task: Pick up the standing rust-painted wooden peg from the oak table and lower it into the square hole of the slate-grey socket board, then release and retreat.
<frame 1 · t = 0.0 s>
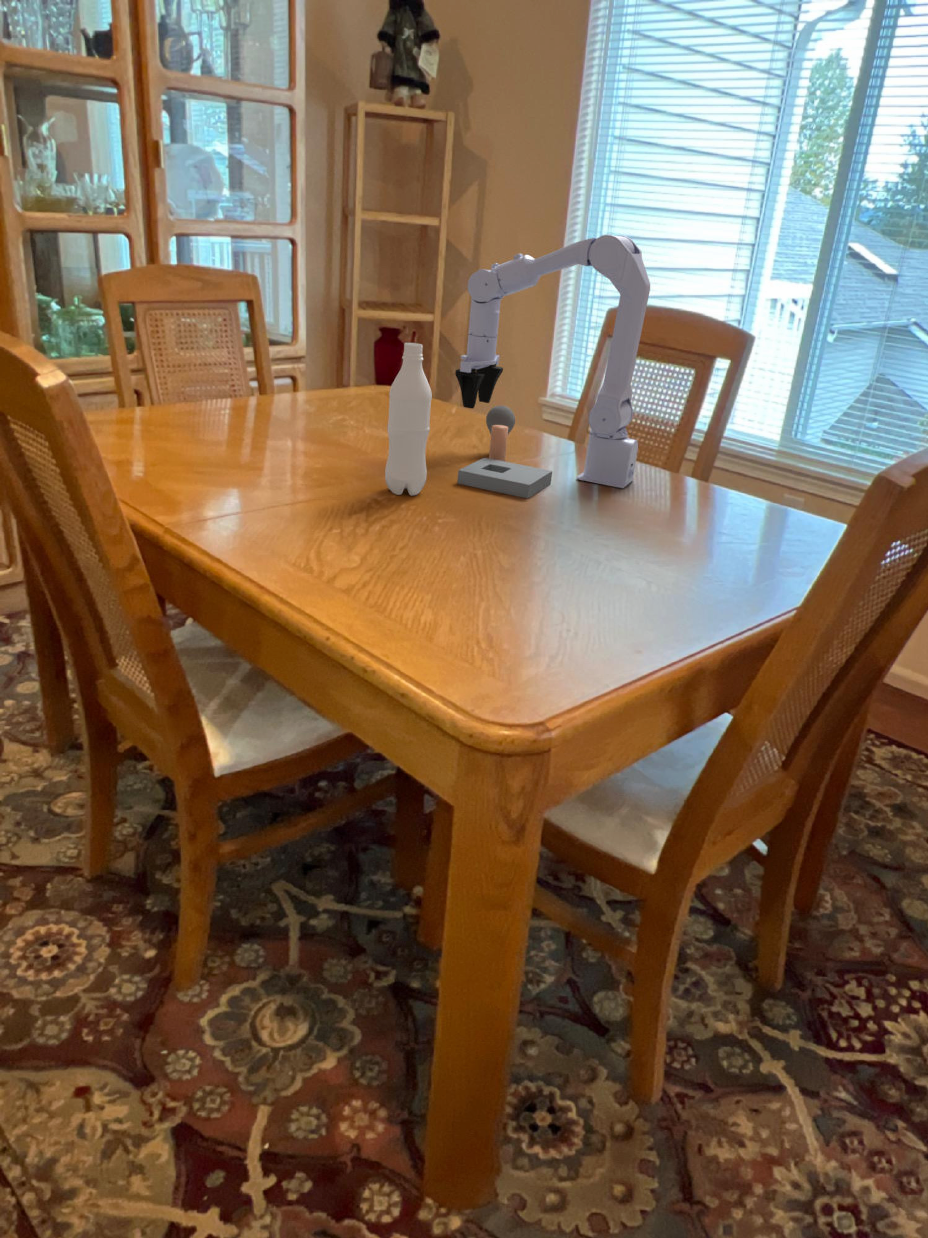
hand: (476, 404, 180), 10 cm above the table, fingers open, 7 cm apart
water bottle: (404, 492, 156), on the table
socket board: (504, 483, 166), on the table
peg: (496, 466, 176), on the table
light bulb: (497, 454, 186), on the table
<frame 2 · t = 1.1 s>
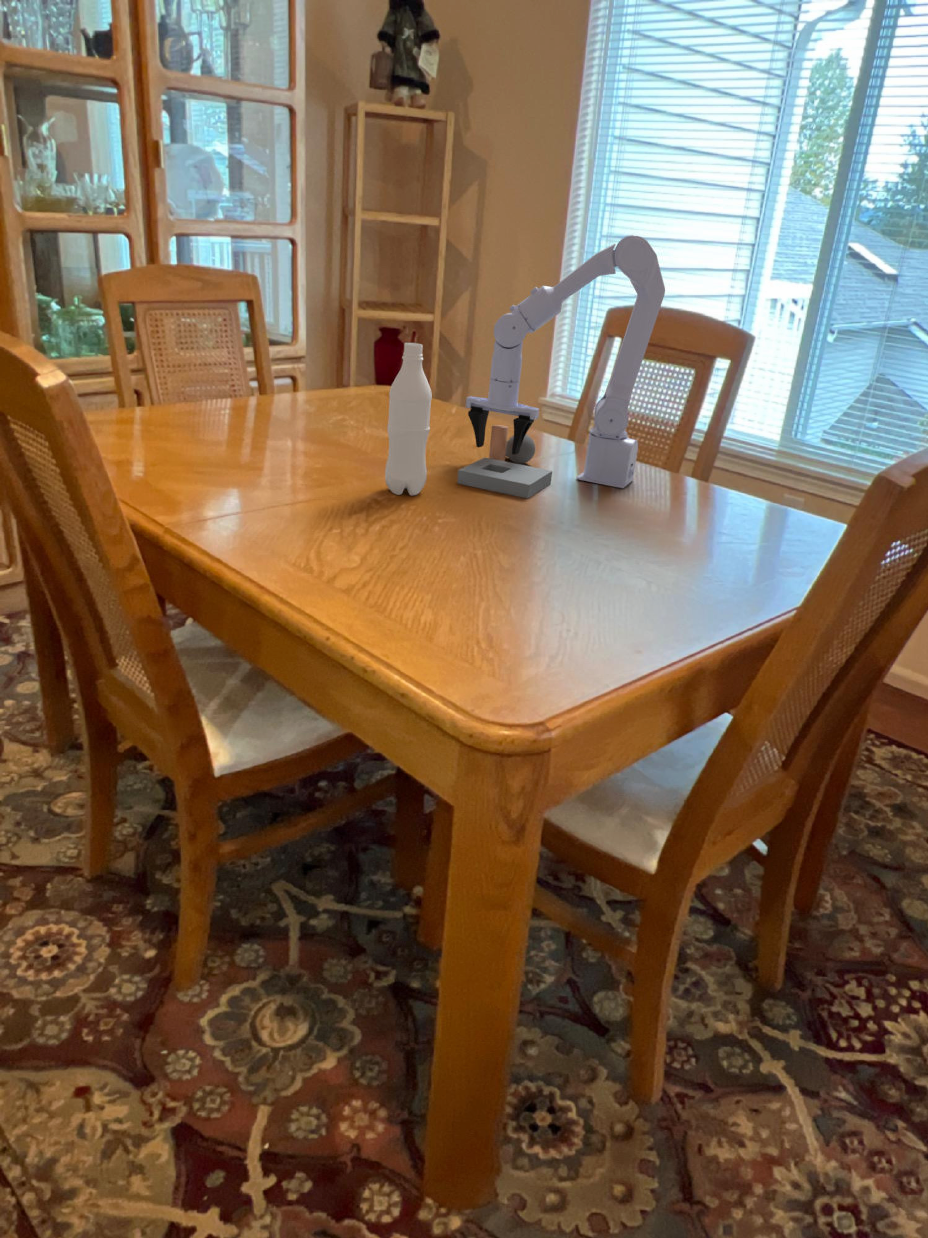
hand: (497, 449, 175), 3 cm above the table, fingers open, 7 cm apart
light bulb: (499, 448, 185), point 1 cm above the table
everything else where it was.
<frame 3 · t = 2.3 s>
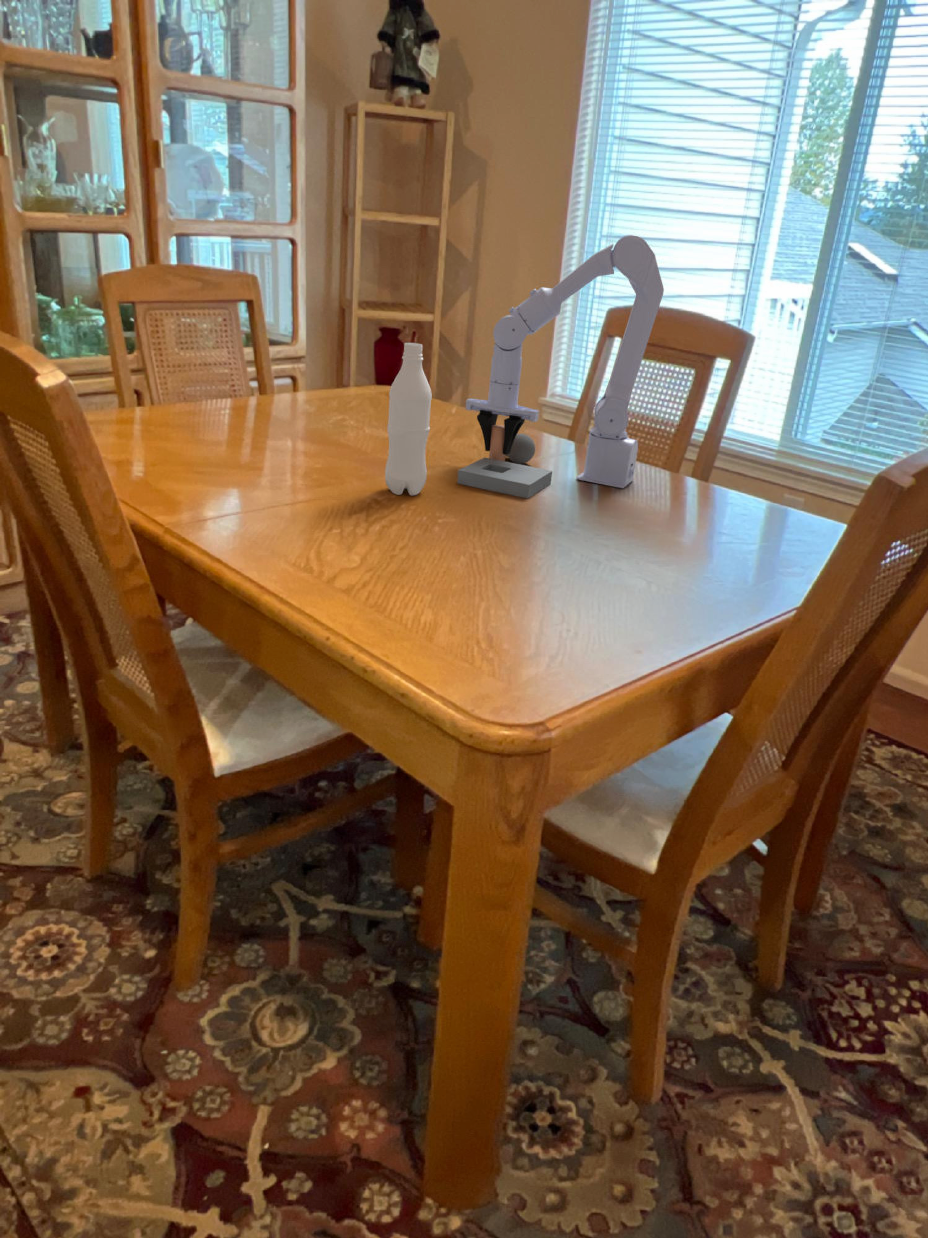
hand: (497, 451, 175), 3 cm above the table, fingers closed on peg, 3 cm apart
peg: (496, 466, 176), on the table, touching gripper
everything else where it was.
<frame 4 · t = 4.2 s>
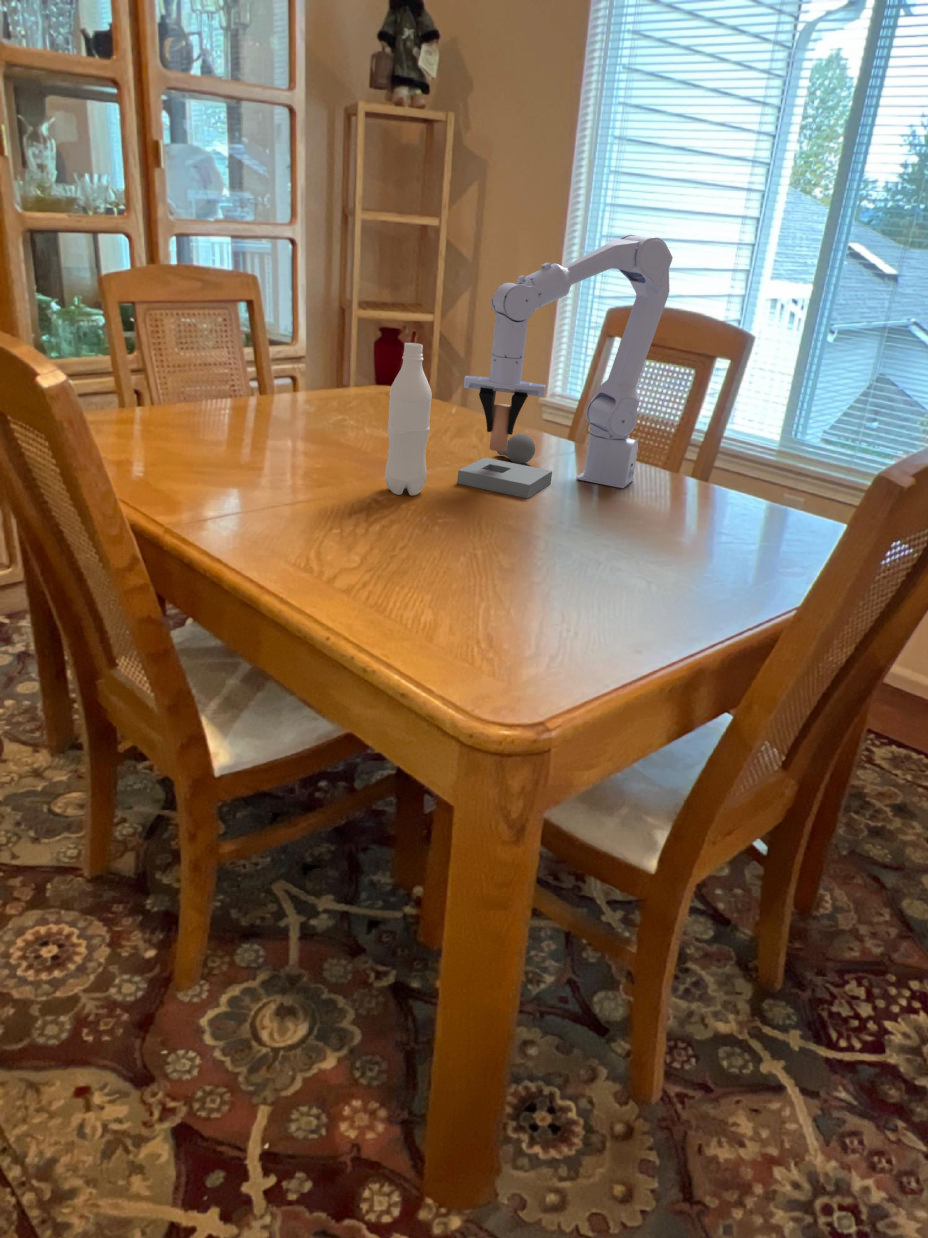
hand: (499, 432, 163), 9 cm above the table, fingers closed on peg, 3 cm apart
peg: (498, 449, 164), point 6 cm above the table, touching gripper
everything else where it was.
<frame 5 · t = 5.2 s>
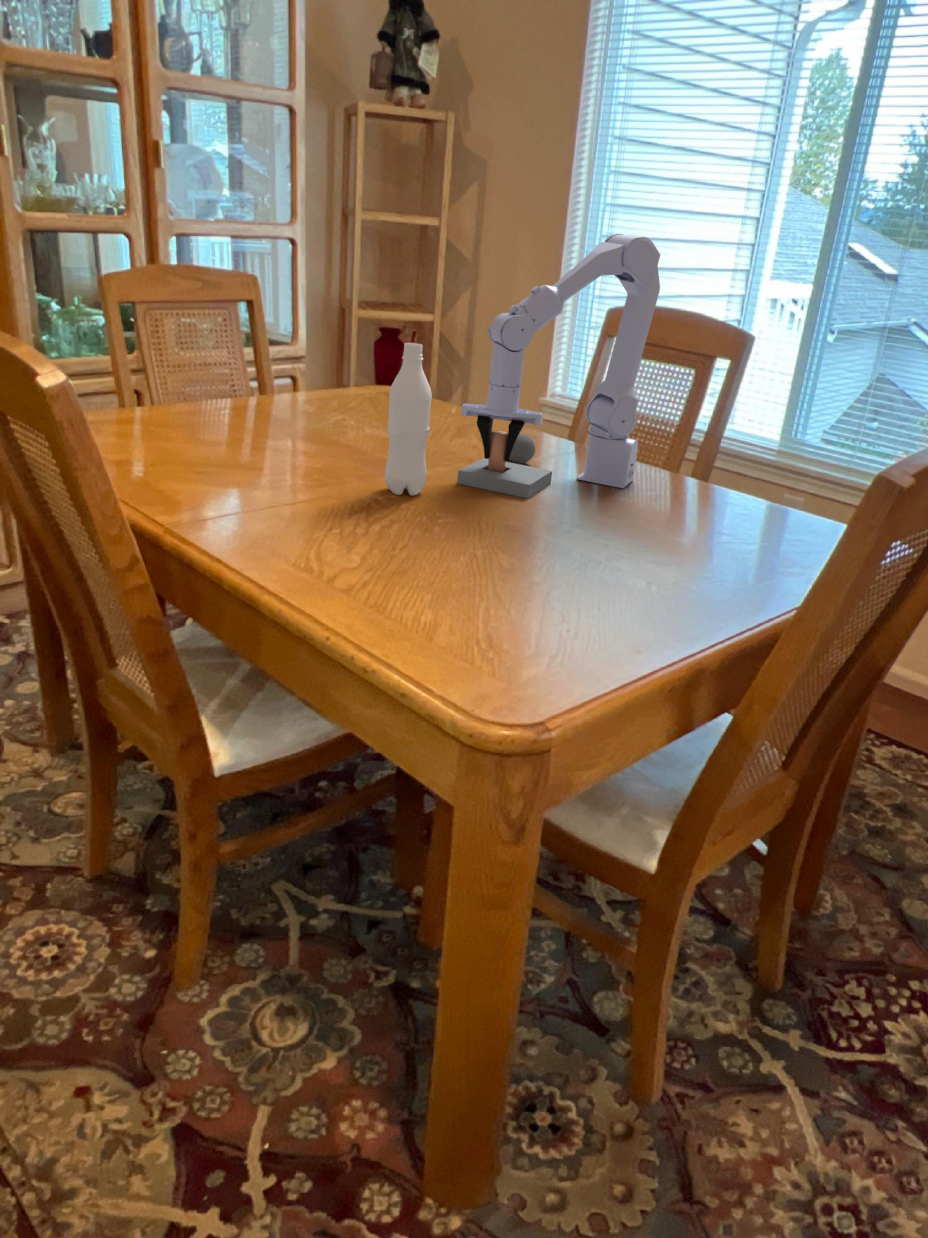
hand: (497, 458, 165), 4 cm above the table, fingers closed on peg, 3 cm apart
peg: (495, 475, 166), point 1 cm above the table, touching gripper
everything else where it was.
when the fingers open (4 cm above the table, at t = 6.0 s): peg drops 1 cm, resting in socket board.
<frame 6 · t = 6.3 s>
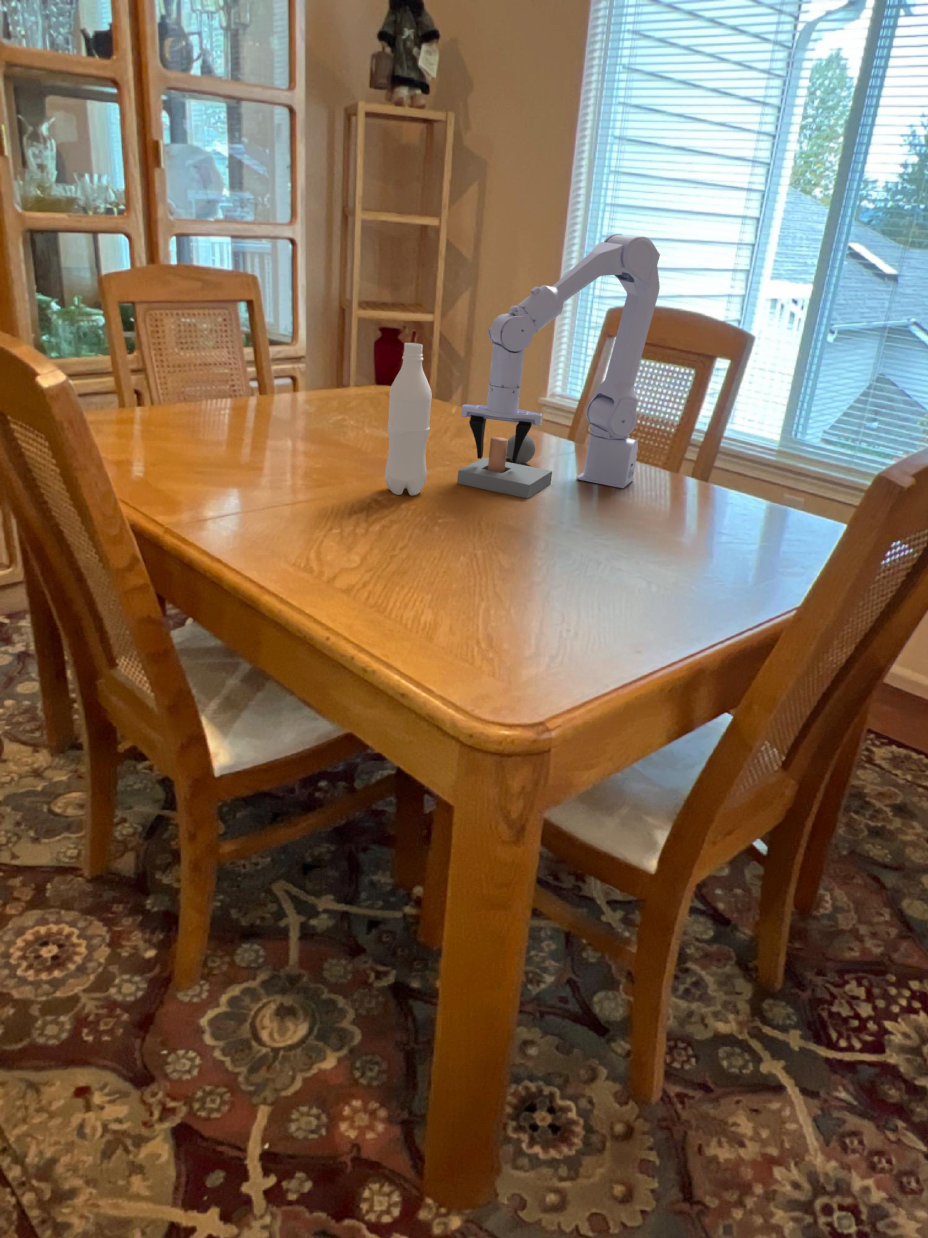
hand: (497, 459, 165), 4 cm above the table, fingers open, 6 cm apart
peg: (495, 481, 166), resting in socket board
everything else where it was.
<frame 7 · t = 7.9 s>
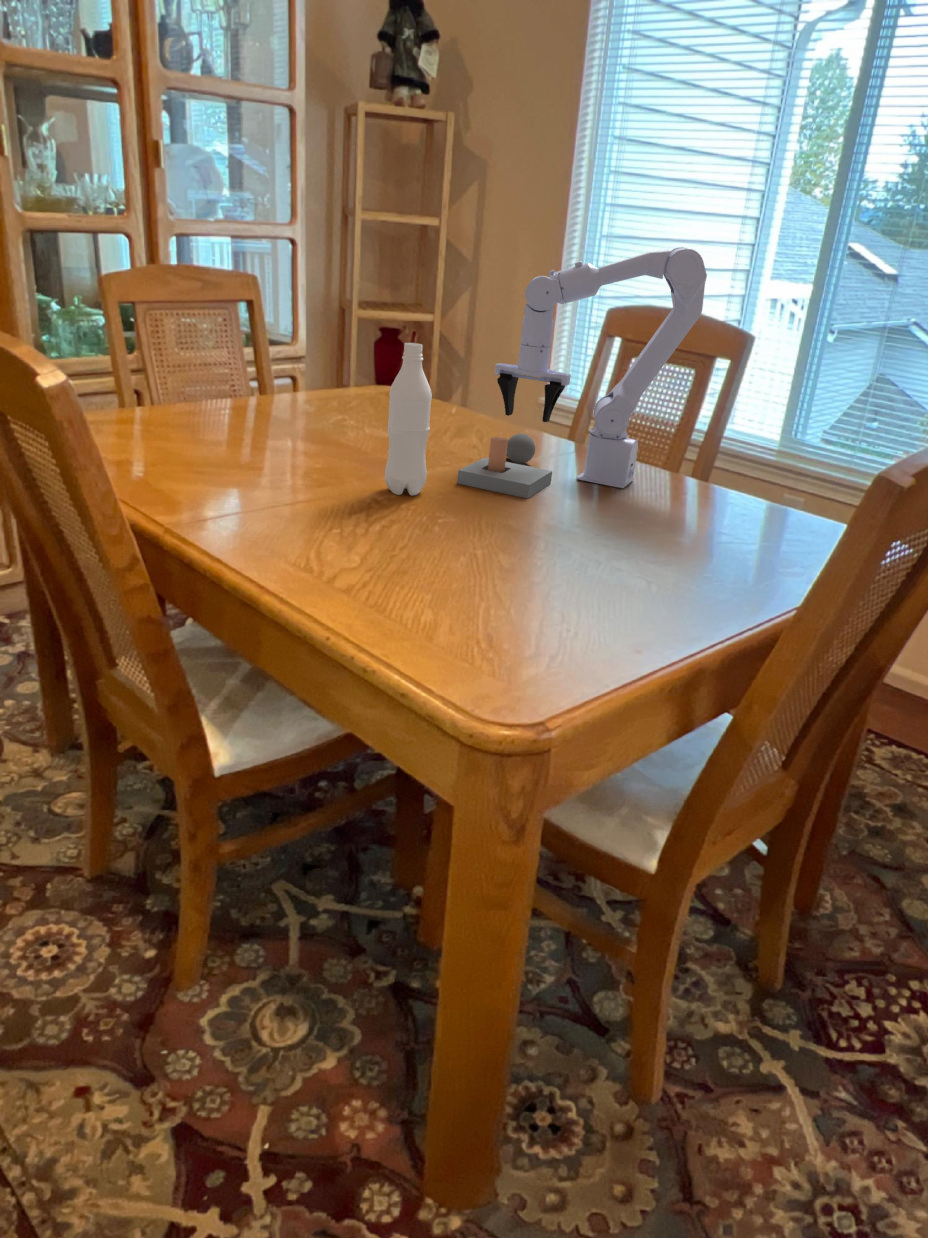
hand: (527, 417, 171), 10 cm above the table, fingers open, 7 cm apart
nothing on the table moved.
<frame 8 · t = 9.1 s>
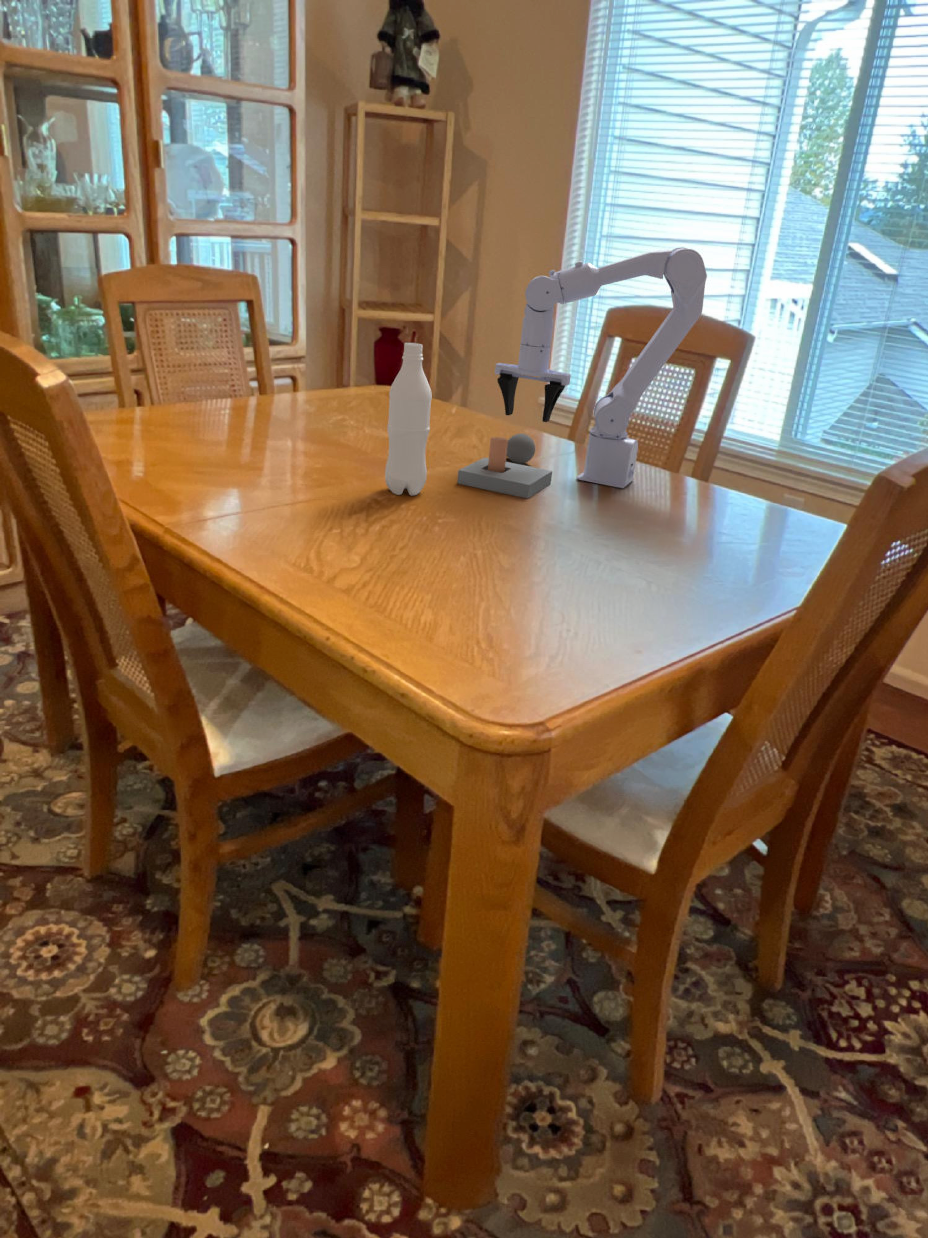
hand: (527, 417, 171), 10 cm above the table, fingers open, 7 cm apart
nothing on the table moved.
at the end: peg 0.1 cm from the target spot on the socket board, point 0.0 cm above the socket board's base; peg tilted 0°; the gripper is holding nothing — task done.
